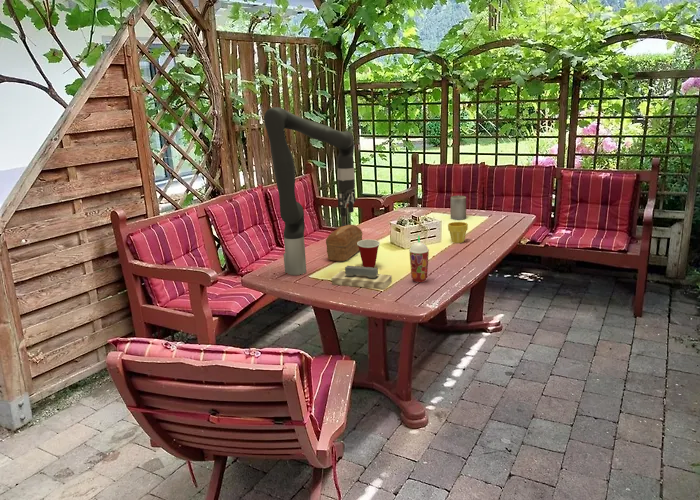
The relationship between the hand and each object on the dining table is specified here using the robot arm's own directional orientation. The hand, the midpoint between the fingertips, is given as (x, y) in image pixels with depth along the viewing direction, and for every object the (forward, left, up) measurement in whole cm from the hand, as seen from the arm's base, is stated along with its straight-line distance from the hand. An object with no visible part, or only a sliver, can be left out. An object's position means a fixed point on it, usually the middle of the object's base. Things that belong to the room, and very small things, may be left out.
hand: (347, 214), depth 253 cm
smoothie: (+33, -1, -28) cm, 43 cm away
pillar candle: (+25, +121, -28) cm, 127 cm away
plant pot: (+36, +66, -28) cm, 80 cm away
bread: (-14, +28, -28) cm, 42 cm away
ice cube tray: (+10, -11, -28) cm, 31 cm away
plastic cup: (+5, +12, -28) cm, 31 cm away
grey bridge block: (+10, -11, -28) cm, 31 cm away
